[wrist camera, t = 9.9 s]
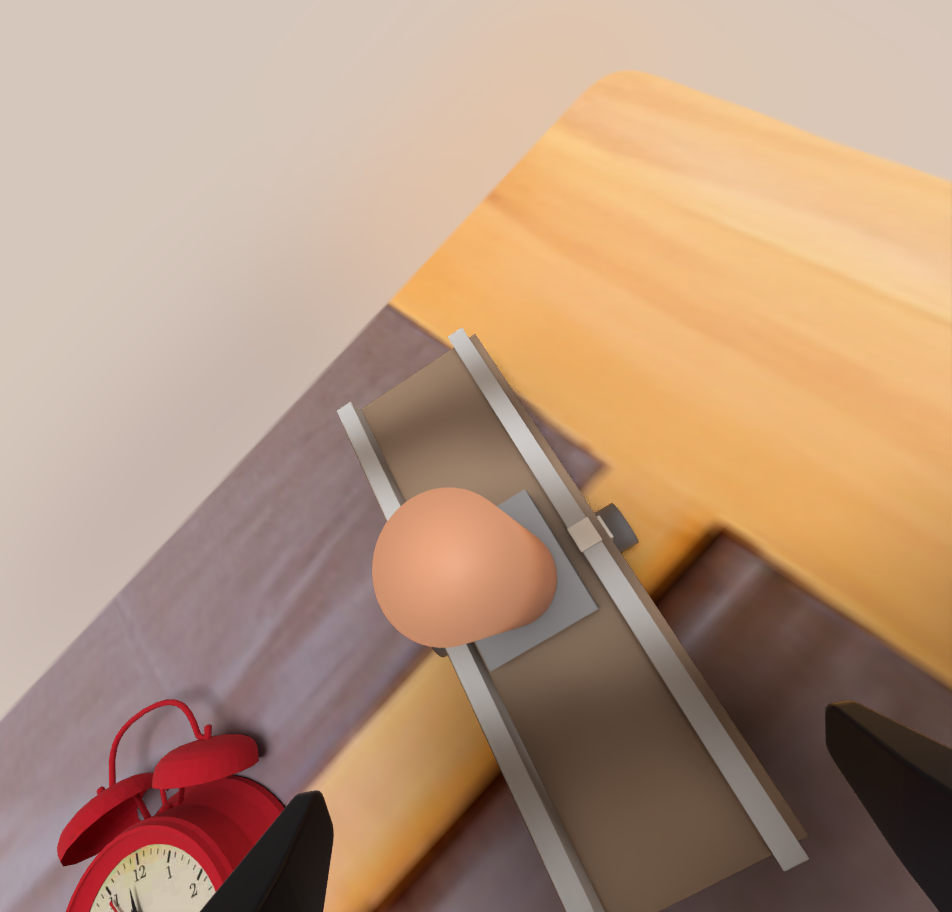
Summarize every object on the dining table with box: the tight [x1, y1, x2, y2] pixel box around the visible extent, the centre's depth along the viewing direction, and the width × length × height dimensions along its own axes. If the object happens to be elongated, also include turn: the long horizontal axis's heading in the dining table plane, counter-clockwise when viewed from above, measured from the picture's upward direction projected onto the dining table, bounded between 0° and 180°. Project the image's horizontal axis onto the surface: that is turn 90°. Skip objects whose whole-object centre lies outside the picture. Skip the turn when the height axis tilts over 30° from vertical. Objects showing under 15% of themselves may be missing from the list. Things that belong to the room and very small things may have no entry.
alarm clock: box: [57, 699, 285, 912], centre depth 20 cm, size 10×6×15 cm
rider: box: [372, 487, 599, 672], centre depth 15 cm, size 5×4×9 cm
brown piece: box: [337, 328, 809, 912], centre depth 20 cm, size 22×10×4 cm, turn 29°
